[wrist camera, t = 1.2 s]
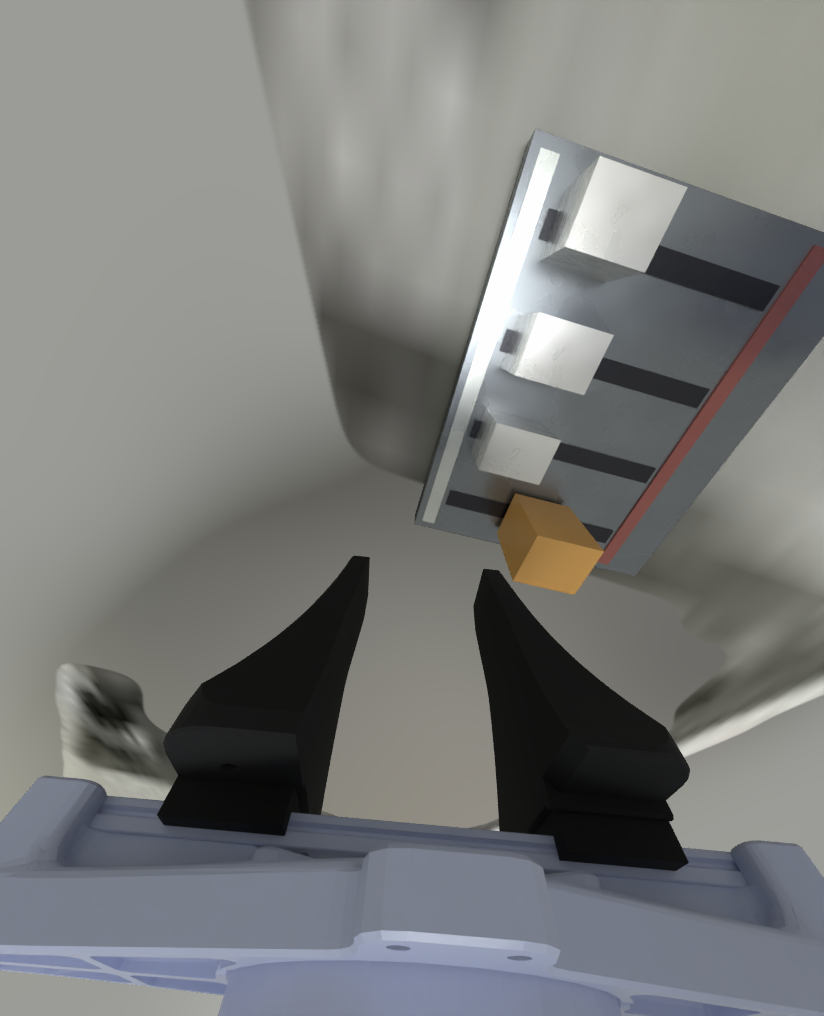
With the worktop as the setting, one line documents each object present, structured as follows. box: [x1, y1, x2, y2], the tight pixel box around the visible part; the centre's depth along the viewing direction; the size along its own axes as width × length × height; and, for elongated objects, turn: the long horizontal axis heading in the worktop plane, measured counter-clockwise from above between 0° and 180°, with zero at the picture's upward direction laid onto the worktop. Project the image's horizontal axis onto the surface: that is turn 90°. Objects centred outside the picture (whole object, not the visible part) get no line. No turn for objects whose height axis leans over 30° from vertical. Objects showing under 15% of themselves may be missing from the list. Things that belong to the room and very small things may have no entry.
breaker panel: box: [415, 129, 824, 576], centre depth 17 cm, size 16×18×4 cm
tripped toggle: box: [497, 493, 604, 595], centre depth 18 cm, size 4×3×4 cm
